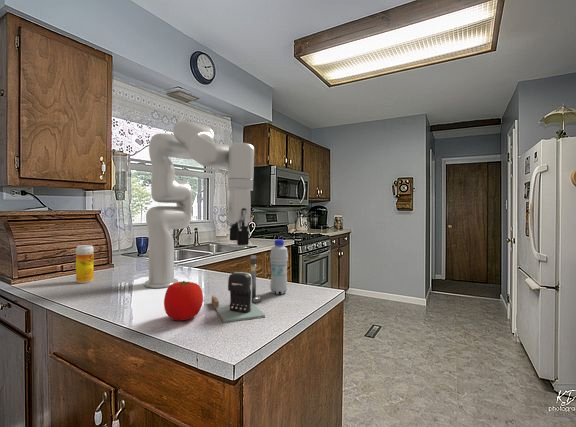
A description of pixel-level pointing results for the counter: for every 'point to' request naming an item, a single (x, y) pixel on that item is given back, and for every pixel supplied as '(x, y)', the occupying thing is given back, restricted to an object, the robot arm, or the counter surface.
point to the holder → (215, 302)
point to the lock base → (256, 299)
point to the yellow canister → (84, 264)
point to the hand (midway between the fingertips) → (238, 242)
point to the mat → (239, 314)
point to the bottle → (279, 267)
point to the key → (253, 275)
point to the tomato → (183, 300)
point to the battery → (240, 291)
